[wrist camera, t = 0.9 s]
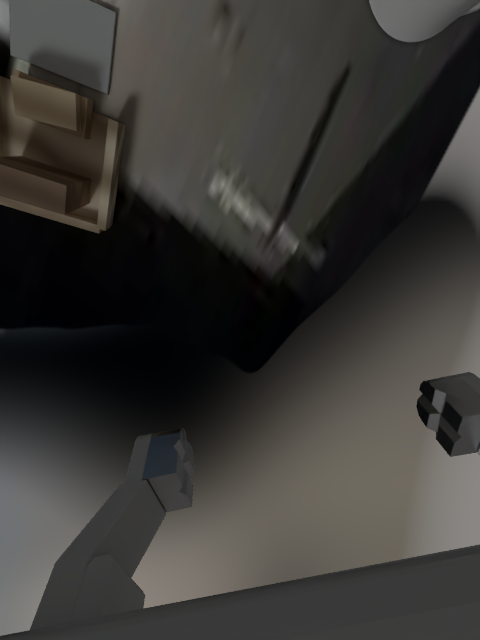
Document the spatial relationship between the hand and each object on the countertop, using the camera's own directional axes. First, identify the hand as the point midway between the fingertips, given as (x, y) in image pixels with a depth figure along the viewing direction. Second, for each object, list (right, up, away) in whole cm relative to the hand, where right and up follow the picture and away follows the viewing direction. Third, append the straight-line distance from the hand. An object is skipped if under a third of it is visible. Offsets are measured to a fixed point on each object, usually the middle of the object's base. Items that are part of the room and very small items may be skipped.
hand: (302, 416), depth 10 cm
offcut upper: (-25, +29, +26) cm, 47 cm away
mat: (-23, +37, +25) cm, 50 cm away
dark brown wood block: (-28, +23, +32) cm, 49 cm away
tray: (-27, +26, +31) cm, 49 cm away
